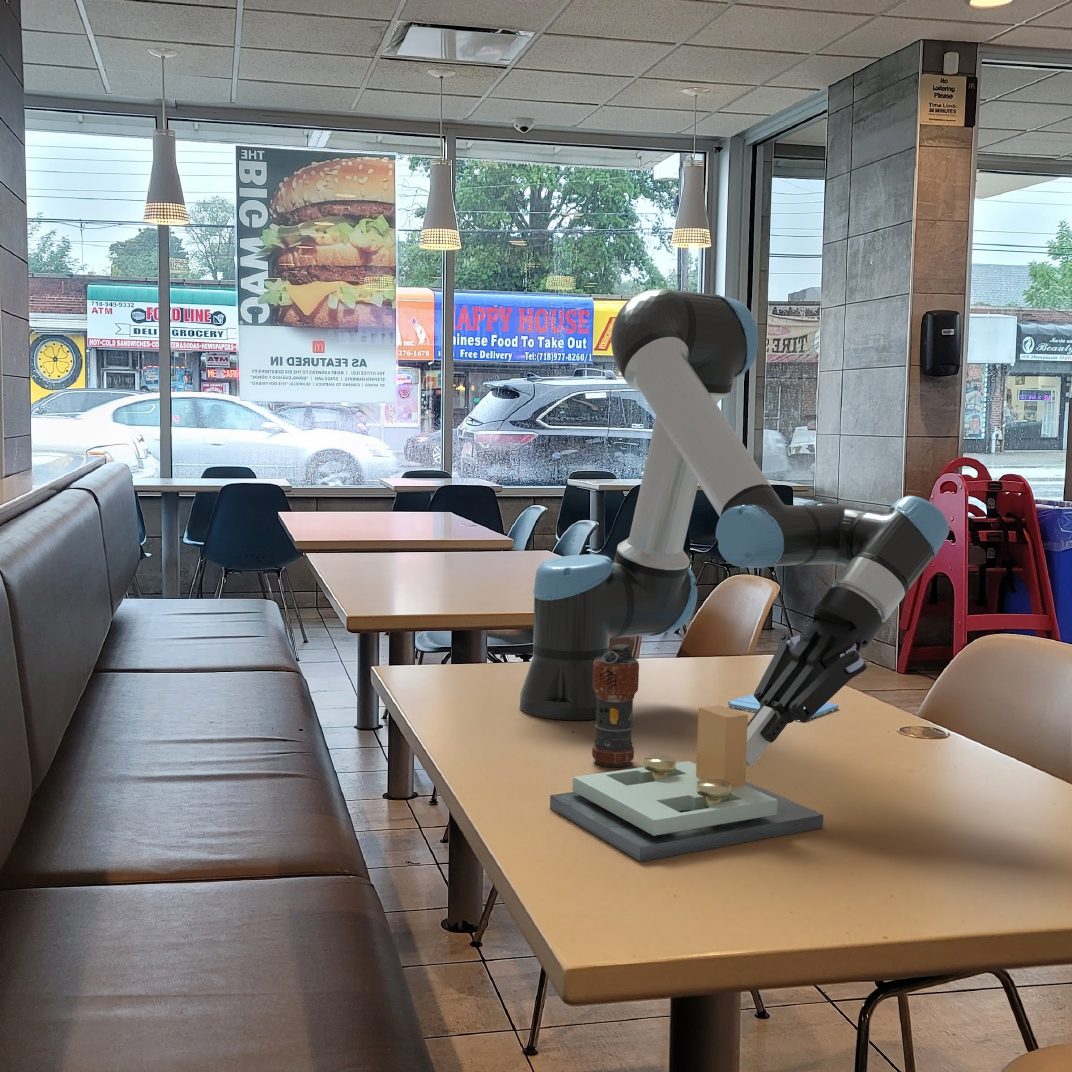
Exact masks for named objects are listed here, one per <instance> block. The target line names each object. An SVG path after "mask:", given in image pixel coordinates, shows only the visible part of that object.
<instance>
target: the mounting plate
mask: <svg viewBox="0 0 1072 1072" xmlns="http://www.w3.org/2000/svg"><path fill="white" fill-rule="evenodd" d="M676 763H677V760H676V758H674V757H672V756H668V755H665V754H663V755H662V754H653V755H652V754H651V755H647V756H645V757H644V759H643V767H644V768H645V769H646V770H648V771H652V772H653V773H652V782H654V779H655V778H661V777H666V776H667V772H672V771H675V769H676ZM633 785H635V784H633ZM626 786H628V785H626ZM745 786H747V787H749V788H752V789H754V790H756V791H758V792H761V793H763V794H765V795H768V796H770V797H772V798H774V799H777V800H778V803H777V815H771V816H765V817H759V818H753V819H748V820H742V821H736V822H730V823H724V824H719V825H713V826H707V827H701V828H695V829H690V830H684V831H678V832H672V833H666V834H661V835H655V836H653V835H651V834H650V833H648V832H646V831H644V830H642V829H641V828H639V827H637V826H635V825H633V824H632V823H630V822H628V821H626V820H624V819H623V818H621V817H619V816H617V815H615V814H614V813H612V812H610V811H608V810H606V809H604V808H603V807H601V806H599V805H597V804H595V803H594V802H592V801H590V800H588V799H586V798H585V797H583V796H581V795H579V794H577V793H576V792H574V791H570V792H569V791H568V792H563V793H555V794H550V798H549V809H551V810H553V811H555V812H556V813H558V814H559V815H561V816H562V817H564V818H566V819H567V820H569V821H571V822H572V823H574V824H575V825H578V826H579V827H581V829H582V828H583V830H585V831H588V832H589V833H591V834H592V835H594V836H596V837H597V838H599V839H601V840H602V841H604V842H606V843H608V844H609V845H610V846H612V847H614V848H616V849H617V850H619V851H620V852H622V853H624V854H626V855H627V856H629V857H631V858H633V859H635V860H636V861H637V862H639V863H640V862H646V861H652V860H656V859H662V858H663V859H664V858H666V857H667V858H668V857H673V856H678V855H679V856H680V855H684V854H690V853H695V852H700V851H701V852H702V851H706V850H711V849H717V848H721V847H727V846H732V845H739V844H745V843H749V842H754V841H759V840H765V839H771V838H777V837H782V836H788V835H793V834H798V833H804V832H809V831H814V830H821V829H823V828H824V813H820V812H818V811H816V810H813V809H811V808H809V807H807V806H805V805H802V804H800V803H798V802H795V801H793V800H790V799H788V798H785V797H784V796H781V795H779V794H777V793H775V792H771V790H767V789H764V788H762V787H760V786H758V785H755V784H753V783H751V782H749V781H746V780H745ZM697 793H698V794H699V795H701V796H704V797H706V807H705V809H707V808H709V804H714V803H721V798H725V797H729V796H730V795H731V784H730V783H729V782H727V781H724V780H720V779H702V780H699V781H697ZM688 811H691V810H684V811H678V812H680V813H682V812H688Z"/></svg>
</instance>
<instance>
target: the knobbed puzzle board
mask: <svg viewBox="0 0 1072 1072" xmlns="http://www.w3.org/2000/svg"><path fill="white" fill-rule="evenodd" d="M748 718H749V715H748V714H746V713H743V712H741V711H737V710H736V709H733V708H729V707H726V706H725V705H722V704H721V705H720V704H718V705H706V706H701V707H700V706H699V707H698V717H697V738H696V740H697V741H696V744H697V745H696V747H697V748H696V761H695V762H696V763H694V762H692V761H689V760H687V761H679V762H676V769H675V771H672V772H667V776H666V777H661V778H655V779H654V782H652V773H653V772H652V771H648V770H646V769H645V768H644V766H643V767H635V768H628V769H627V768H626V769H621V770H615V771H607V772H599V773H592V774H585V775H577V776H573V777H572V792H576V793H577V794H579V795H581V796H583V797H585V798H586V799H588V800H590V801H592V802H594V803H595V804H597V805H599V806H601V807H603V808H604V809H606V810H608V811H610V812H612V813H614V814H615V815H617V816H619V817H621V818H623V819H624V820H626V821H628V822H630V823H632V824H633V825H635V826H637V827H639V828H641V829H642V830H644V831H646V832H648V833H650V834H651V835H653V836H655V835H661V834H666V833H672V832H678V831H684V830H690V829H695V828H701V827H707V826H713V825H719V824H724V823H730V822H736V821H742V820H748V819H753V818H759V817H765V816H771V815H777V803H778V800H777V799H774V798H772V797H770V796H768V795H765V794H763V793H761V792H758V791H756V790H754V789H752V788H749V787H747V786H745V781H746V769H747V768H746V767H747V765H746V748H747V726H748V722H749V719H748ZM702 779H720V780H724V781H727V782H729V783H730V784H731V795H730V796H729V797H725V798H721V803H714V804H709V808H707V809H705V807H706V797H704V796H701V795H699V794H698V793H697V781H699V780H702ZM633 784H635V785H633ZM626 785H628V786H626ZM684 810H691V811H688V812H682V813H680V812H678V811H684Z"/></svg>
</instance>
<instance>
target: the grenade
mask: <svg viewBox="0 0 1072 1072" xmlns="http://www.w3.org/2000/svg"><path fill="white" fill-rule="evenodd" d="M610 649H611V651H609V652H608V653H606V654H604V655H603V656H601V657H597V658H596V659H595V660H594V662H593V690H594V691H595V696H596V697H597V712H596V719H595V720H596V721H595V722H596V723H595V724H594V725H595V738H594V742H593V743H594V744H593V745H592V748H591V750H592V751H591V755H592V756H591V757H592V758H593V759H594V762H595V763H596V764H597V765H599V766H604V767H609V768H622V767H626V766H627V767H628V766H629V765H631V761H632V760H634V758H635V748H634V745H633V742H632V737H633V736H632V735H633V734H632V733H633V728H634V726H633V707H634V706H633V705H634V698H635V694H636V693H637V692H638V690H639V681H640V679H639V678H640V677H639V675H640V662H639V661H638V659H636V658H635V657H634V655H633V653H632V649H631V645H630V644H621V643H617V644H616V645H613V646H611V648H610ZM607 654H608V655H607ZM605 655H607V656H605Z"/></svg>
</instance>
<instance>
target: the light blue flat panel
mask: <svg viewBox="0 0 1072 1072" xmlns="http://www.w3.org/2000/svg"><path fill="white" fill-rule="evenodd" d="M727 703H728V704H727V706H728V705H729V706H728V708H729V707H734V708H737V709H736V710H739V709H743V710H742V711H744V710H748V711H747V712H749V711H753V712H752V713H754V712H757V711H758V709H759V708H760V703H759V702H758V701H757V700H756V698H755V697H754V693H752V694H747V695H746V696H741V697H737V698H736V699H732V700H729V701H727ZM734 708H733V709H734ZM804 709H806V708H805V707H804ZM835 709H838V710H839V704H836V703H832V702H831V703H830V702H826V703H825V704H824V705H823V706H822V707H821V708H820V709H819V710H818V711H817V712H816V713H815V714H814V715H813V716H812V717H811V718H813V719H815V718H814V717H816V718H818V717H820V715H821V714H824V713H826V712H829V711H832V710H835ZM835 711H836V710H835ZM832 712H833V711H832ZM829 713H830V712H829ZM824 715H825V714H824ZM817 716H818V717H817ZM821 716H822V715H821ZM811 718H810V720H812V719H811Z"/></svg>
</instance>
